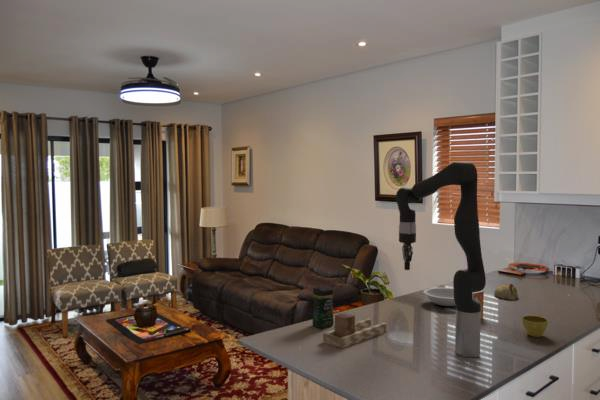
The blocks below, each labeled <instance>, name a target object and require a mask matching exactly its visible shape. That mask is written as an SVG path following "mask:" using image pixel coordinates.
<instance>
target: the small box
mask: <svg viewBox="0 0 600 400" xmlns="http://www.w3.org/2000/svg"><path fill="white" fill-rule="evenodd" d="M484 293H485V292H484V291H483V290H482V291H479V292H473V293H472V298H473V300H474V301H477V302H479V303H480V305H481V318H483V317H484V300H485V299H484Z"/></svg>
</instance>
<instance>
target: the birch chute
mask: <svg viewBox="0 0 600 400" xmlns="http://www.w3.org/2000/svg"><path fill="white" fill-rule="evenodd" d="M385 333H387V323H386V322H381V323H378V324H375V325H372V319H371V318H365V319H362V320H359V321H357V322H356V321H355V333H352V334H350V335H347V336H344V337H341V338H340V337H337V336H335V329H333V330H329V331H326V332H323V334H322V342H323V343H324V344H327V345H329V346H333V347H335V348H338V349H343V348H346V347H350V346H352V345H354V344H357V343H360V342H362V341H366V340H368V339H371V338H374V337H376V336H379V335H381V334H385Z"/></svg>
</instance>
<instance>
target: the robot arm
mask: <svg viewBox="0 0 600 400" xmlns="http://www.w3.org/2000/svg"><path fill="white" fill-rule="evenodd" d="M452 185H453V186H460V200H459V204H458V206H457V209H456V211H455V214H454V218H453V226H454V235H455V236H454V237H455V239H456V241H457V242H458V244H459V245H460V247H461V249H462V251H463V252H464V254H465V259H466V264H467V265H466V266H467V268H465V269H458V270H457V271H456V272H455V273H454V275H453V282H452V285H453V289H454V301H455V304H456V306H455V329H454V330H455V332H454V335H455V337H454V338H455V340H454V342H455V343H454V352H455V354H457V355H459V356H461V357H463V358H480V355H481V321H482V320H481V319H482V317H481V305H480V303H479V302H477V301H474V300H473V298H472V293H473V292H479V291H483V290H484V289H485V287H486V283H487V282H486V281H487V279H486V272H485V266H484V260H483V254H482V247H481V246H482V245H481V236H480V233H481V232H480V231H481V230H480V221H479V210H478V170H477V167H476V166H475V164H474V163H473V162H470V161H454V162H451V163H449V164H448V165H447V166H445V167H444V168H443V169H441V170H440V171H438V172H437V173H435V174H434V175H432V176H430V177H427V178H425V179H423V180H421V181H418V182H417V183H415V184H413V186H412V187H400V188H399V189H398V190H397V191H396V193H395V199H396V203H397V204H396V205H397V207H398V212H399V225H398V243H400V244H401V243H402V244H403V245H401V249H402V250H401V251H402V258H403V259H402V260H403V262H404V264H403V265H404V268H403V269H404V270H405V271H410V269H411V264H410V263H411V262H412V260H413V259H412V258H413V254H414V252H413V246H412V244H414V243H416V242H417V225H416V210H415V209H414V208H410V205H409V204H414V203H418V202H420V201H421V200H422V199H424V198H426V197H429V196H431V195H433V194H435V193H436V192H438V190H439V189H441V188H444V187H447V186H452Z"/></svg>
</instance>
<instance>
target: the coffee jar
mask: <svg viewBox="0 0 600 400" xmlns="http://www.w3.org/2000/svg"><path fill="white" fill-rule="evenodd" d="M312 291H313V292H312V297H313V311H312V312H313V313H312V326H314V327H315V328H319V329H322V328H329V327H332V326H334V325H335V319H334V309H333V299H334V295H335V293H334V292H335V290H334V287H333V286H331V285H329V284H328V285H327V284H325V285H321V286H315V287H314V288H313V290H312Z"/></svg>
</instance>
